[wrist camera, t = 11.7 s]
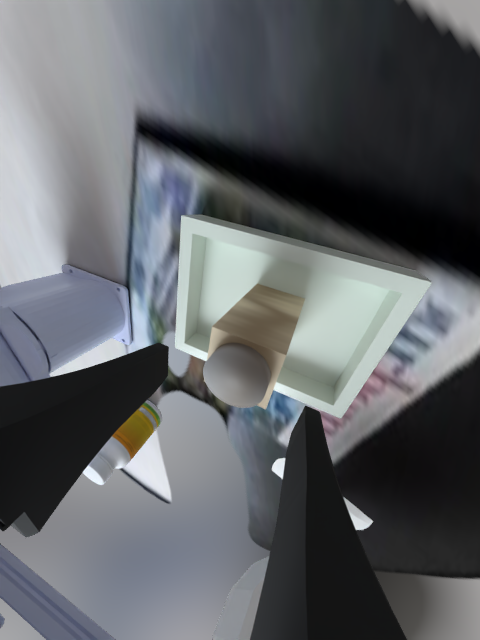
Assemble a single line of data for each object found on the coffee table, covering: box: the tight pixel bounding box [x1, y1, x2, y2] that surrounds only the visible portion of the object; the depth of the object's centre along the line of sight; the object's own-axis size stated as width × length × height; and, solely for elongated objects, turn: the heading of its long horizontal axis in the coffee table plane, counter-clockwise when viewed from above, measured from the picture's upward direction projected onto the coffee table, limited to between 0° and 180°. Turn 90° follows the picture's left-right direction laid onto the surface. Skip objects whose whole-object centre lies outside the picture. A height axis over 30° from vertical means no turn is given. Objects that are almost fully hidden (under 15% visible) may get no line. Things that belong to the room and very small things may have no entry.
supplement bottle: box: [83, 400, 162, 485], centre depth 30 cm, size 5×5×10 cm
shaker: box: [203, 283, 305, 409], centre depth 15 cm, size 4×4×9 cm
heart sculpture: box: [212, 458, 373, 640], centre depth 20 cm, size 16×5×18 cm, turn 56°
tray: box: [175, 215, 432, 419], centre depth 18 cm, size 16×12×3 cm
